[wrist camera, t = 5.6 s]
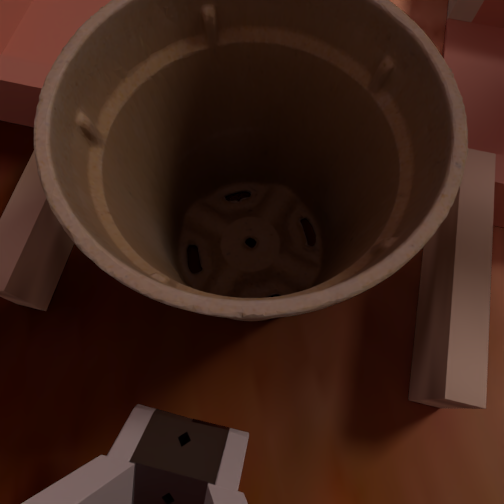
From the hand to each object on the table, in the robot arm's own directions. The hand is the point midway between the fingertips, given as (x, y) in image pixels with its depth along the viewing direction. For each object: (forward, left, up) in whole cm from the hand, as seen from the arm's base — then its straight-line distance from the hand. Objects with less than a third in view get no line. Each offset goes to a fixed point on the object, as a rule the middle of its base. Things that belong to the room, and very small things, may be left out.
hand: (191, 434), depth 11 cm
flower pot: (-6, -4, -4) cm, 8 cm away
